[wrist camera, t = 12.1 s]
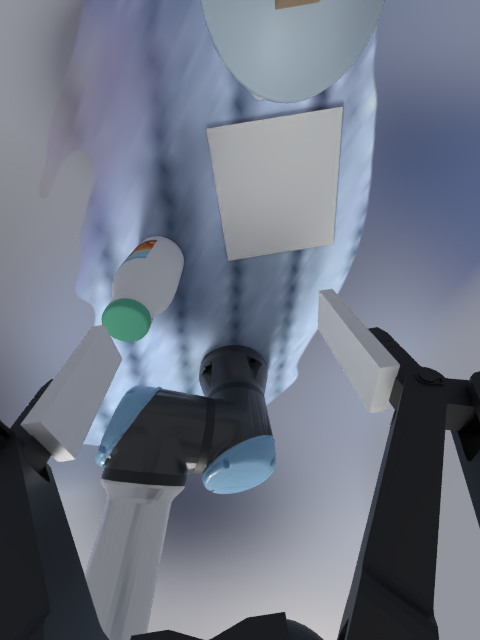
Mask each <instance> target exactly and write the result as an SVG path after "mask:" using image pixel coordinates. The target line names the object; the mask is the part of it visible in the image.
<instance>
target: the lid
mask: <svg viewBox="0 0 480 640" xmlns="http://www.w3.org/2000/svg"><path fill="white" fill-rule="evenodd" d="M384 2H385V0H201V5H202V10H203V14H204V18H205V21H206V25H207V28H208V31H209V34H210V36H211V39H212V42H213V44H214V46H215V48H216V50H217V52H218V54H219V56H220V58H221V60H222V61H223V63H224V64H225V66H226V67H227V69H228V70H229V72H230V73H231V74H232V75H233V76H234V78H235V79H236V80H237V81H238V82H239V83H240V84H241V85H243V86H244V87H245V88H246V89H247V90H249V91H250V92H252V93H253V94H255V95H257V96H259V97H261V98H263V99H265V100H269V101H273V102H279V103H292V102H298V101H302V100H306V99H308V98H311V97H313V96H315V95H317V94H319V93H320V92H322V91H324V90H325V89H327V88H328V87H330V86H331V85H332V84H334V83H335V82H336V81H337V80H338V79H340V78H341V77H342V76H343V74H344V73H345V72H346V71H347V70H348V69H349V68H350V67H351V66H352V64H353V63H354V62H355V61H356V59H357V58H358V57H359V55H360V53H361V52H362V50H363V49H364V47H365V46H366V44H367V42H368V40H369V38H370V36H371V34H372V33H373V31H374V29H375V26H376V24H377V21H378V19H379V17H380V14H381V12H382V9H383V6H384Z"/></svg>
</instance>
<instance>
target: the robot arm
mask: <svg viewBox="0 0 480 640" xmlns="http://www.w3.org/2000/svg"><path fill="white" fill-rule="evenodd" d="M318 329H319V331H320V332H321V334H322V336H323V337H324V339H325V341H326V342H327V344H328V346H329V347H330V349H331V351H332V352H333V354H334V355H335V357H336V359H337V361H338V362H339V364H340V366H341V367H342V369H343V370H344V372H345V374H346V375H347V377H348V379H349V380H350V382H351V384H352V385H353V387H354V389H355V390H356V392H357V394H358V395H359V397H360V398H361V400H362V402H363V403H364V405H365V407H366V408H367V410H368V412H369V413H375V412H381V411H387V408H388V404H389V402H390V403H391V405H392V406H393V407H394V409H395V411H394V414H393V417H392V420H391V423H390V425H391V426H390V431H389V435H388V439H387V443H386V447H385V451H384V455H383V459H382V463H381V467H380V472H379V475H378V479H377V484H376V488H375V491H374V496H373V500H372V504H371V508H370V512H369V516H368V520H367V524H366V528H365V532H364V536H363V540H362V544H361V548H360V553H359V557H358V561H357V565H356V569H355V573H354V577H353V581H352V585H351V589H350V593H349V596H348V600H347V603H346V607H345V610H344V614H343V618H342V622H341V626H340V630H339V634H338V638H337V640H439V634H438V626H437V623H436V620H435V617H434V611H433V605H434V588H435V573H436V558H437V544H438V529H439V514H440V499H441V485H442V469H443V455H444V440H445V430H451V433H452V436H453V439H454V443H455V446H456V450H457V453H458V456H459V460H460V463H461V466H462V470H463V473H464V476H465V480H466V483H467V487H468V490H469V493H470V497H471V500H472V503H473V507H474V510H475V514H476V517H477V520H478V523H479V527H480V372H476V373H474V374H473V375H472V376H471V377H470V380H459V379H448V378H445V377H444V376H443V375H442V374H440V373H439V372H437V371H435V370H433V369H430V368H426V367H421V366H420V365H419V364H418V363H417V362H416V361H415V360H414V359H413V358H412V357H411V356H410V355H409V354H408V353H407V352H406V351H405V350H404V349H403V348H402V347H400V346H399V344H398V343H397V342H396V341H394V339H393V338H392V337H391V336H390V335H389V334H388V333H387V332H385V331H383V330H381V329H380V328H378V327H376V328H369V329H368V328H367V327H366V326H365V325H364V324H363V323H362V322H361V321H360V320H359V318H358V317H357V316H356V315H355V314H354V313H353V312H352V311H351V310H350V308H349V307H348V306H347V305H346V304H345V303H344V302H343V301H342V299H341V298H340V297H339V296H338V295H337V294H336V293H335V292H334V291H333V289H328V290H322V291H319V311H318ZM121 361H122V357H121V355H120V353H119V352H118V350H117V348H116V346H115V344H114V342H113V340H112V338H111V336H110V334H109V333H108V331H107V329H106V327H105V325H101V326H95V327H92V328H91V329H90V330H89V332H88V333H87V335H86V336H85V337H84V339H83V340H82V341H81V343H80V344H79V345H78V347H77V348H76V349H75V351H74V352H73V354H72V355H71V356H70V358H69V359H68V360H67V362H66V363H65V365H64V366H63V367H62V369H61V370H60V372H59V373H58V374H57V375H56V377H55V378H54V379H51V380H50V381H49V382H47V383H46V384H45V385H44V386H43V387H41V389H40V390H39V391H38V392H37V394H36V395H35V396H34V398H33V399H32V400H31V402H30V403H29V406H27V407H26V408H25V410H24V411H23V412H22V413H21V415H20V416H19V417H18V419H17V420H16V421H15V423H14V424H13V425H12V427H11V428H10V429H9V428H8V427H7V426H6V425H5V424H4V423H2V421H1V420H0V640H203V639H199V638H196V637H192V636H188V635H185V634H182V633H178V632H175V631H171V630H164V631H158V632H151V633H147V628H148V623H149V618H150V613H151V607H152V602H153V597H154V591H155V586H156V581H157V575H158V570H159V565H160V559H161V554H162V548H163V543H164V538H165V533H166V527H167V522H168V517H169V511H170V506H171V502H172V500H173V499H174V497H176V496H177V495H178V494H179V493H180V492H181V491H182V490H183V489H184V488H185V482H186V476H187V473H191V474H201V475H202V481H203V483H204V485H205V487H206V489H208V490H211V491H212V492H214V493H218V494H229V493H236V492H241V491H244V490H247V489H250V488H252V487H255V486H257V485H259V484H260V483H262V482H263V481H265V480H266V479H267V478H268V477H269V476H270V475H271V474H272V472H273V471H274V469H275V466H276V454H275V453H276V452H275V440H274V438H273V435H272V430H271V426H270V421H269V416H268V412H267V407H266V402H265V398H264V393H265V388H266V382H267V368H266V364H265V361H264V359H263V358H262V356H261V355H260V354H259V353H257V352H256V351H254V350H253V349H250V348H247V347H244V346H226V347H222V348H219V349H217V350H215V351H213V352H211V353H210V354H209V355H207V356H206V358H205V359H204V360H203V362H202V363H201V366H200V372H199V381H200V385H201V388H202V390H203V393H204V396H205V397H204V396H198V395H193V394H187V393H182V392H176V391H171V390H166V389H162V388H161V387H158V388H153V387H146V386H135V387H133V388H131V389H130V390H128V391H127V392H126V394H125V395H124V396H123V398H122V400H121V401H120V403H119V405H118V407H117V408H116V410H115V412H114V414H113V416H112V418H111V420H110V422H109V424H108V427H107V429H106V431H105V433H104V436H103V438H102V441H101V444H100V447H99V450H98V451H97V455H96V459H95V461H96V463H97V464H99V465H100V466H104V465H105V468H104V471H103V474H102V478H101V483H102V485H103V487H104V489H105V490H106V492H107V501H106V505H105V508H104V511H103V514H102V518H101V521H100V524H99V528H98V531H97V535H96V538H95V541H94V545H93V548H92V552H91V555H90V558H89V562H88V565H87V568H86V571H85V575H84V572H83V569H82V566H81V562H80V559H79V556H78V553H77V550H76V547H75V543H74V540H73V537H72V534H71V531H70V527H69V524H68V521H67V518H66V515H65V511H64V508H63V505H62V502H61V499H60V496H59V492H58V489H57V486H56V483H55V480H54V477H53V473H52V470H51V467H50V466H49V465H48V464H47V461H48V459H49V458H50V456H51V455H52V456H53V457H54V458H55V459H56V460H57V461H58V462H62V461H68V460H75V459H76V457H77V455H78V453H79V451H80V449H81V447H82V444H83V442H84V440H85V438H86V436H87V434H88V432H89V429H90V427H91V425H92V423H93V421H94V419H95V416H96V414H97V412H98V410H99V408H100V406H101V404H102V401H103V399H104V397H105V395H106V393H107V391H108V389H109V386H110V384H111V382H112V380H113V378H114V376H115V373H116V371H117V369H118V367H119V365H120V363H121ZM210 640H323V639H322V638H321V637H320V636H319V635H318V634H317V633H315V632H314V631H312V630H311V629H309V628H308V627H306V626H305V625H302V624H300V623H298V622H296V621H292V620H289V619H286V615H285V612H281V613H275V614H268V615H262V616H256V617H249V618H246V619H244V620H243V621H241V622H239V623H237V624H236V625H234V626H232V627H231V628H229V629H227V630H226V631H224V632H222V633H220V634H219V635H217V636H215V637H214V638H212V639H210Z"/></svg>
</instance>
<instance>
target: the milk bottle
mask: <svg viewBox="0 0 480 640" xmlns="http://www.w3.org/2000/svg"><path fill="white" fill-rule="evenodd" d="M183 266H184V257H183V254H182V252H181V250H180V248H179V247H178V246H177V245H176V244H175V243H174V242H173V241H171V240H170V239H167V238H165V237H160V236H153V237H149V238H147V239H145V240H143V241H142V242H141V243H140V244H139V245H138V246H137V247H136V249H135V250H134V251H133V252H132V253H131V254H130V255H129V256H128V258H127V259H126V260H125V261H124V262H123V264H122V265H121V266H120V268H119V269H118V270H117V272H116V274H115V277H114V279H113V283H112V294H113V300H112V301H111V302H110V304H109V305H108V306H107V308H106V309H105V311H104V312H103V315H102V325H105V327H106V329H107V331H108V333H109V334H110V335H111V336H112V337H114V338H115V339H118V340H121V341H125V342H133V341H137V340H140V339H141V338H143V337H144V336H145V335H146V334H147V332H148V331H149V328H150V326H151V323H152V320H153V317H156V316H158V315H160V314H161V313H162V312H164V311H165V310H166V309H167V308H168V307H169V305H170V304H171V302H172V300H173V298H174V296H175V293H176V290H177V287H178V284H179V281H180V277H181V274H182V270H183Z"/></svg>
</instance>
